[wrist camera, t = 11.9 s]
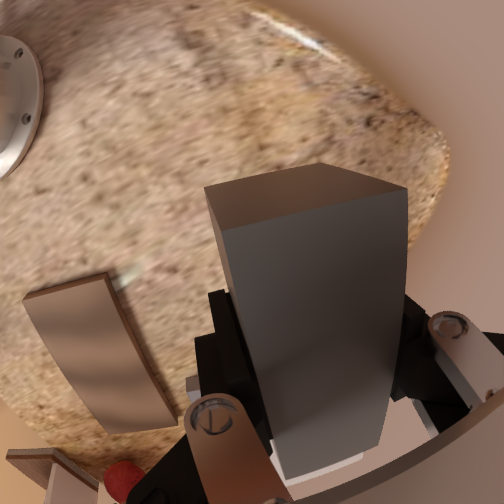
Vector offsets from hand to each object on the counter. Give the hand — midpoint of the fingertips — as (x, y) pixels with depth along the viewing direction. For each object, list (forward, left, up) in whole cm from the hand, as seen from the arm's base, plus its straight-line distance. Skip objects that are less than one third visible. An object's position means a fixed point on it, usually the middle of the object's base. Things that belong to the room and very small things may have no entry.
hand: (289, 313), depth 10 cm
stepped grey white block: (+4, 0, 0) cm, 4 cm away
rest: (+11, -15, -14) cm, 23 cm away
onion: (+28, -21, -14) cm, 38 cm away
